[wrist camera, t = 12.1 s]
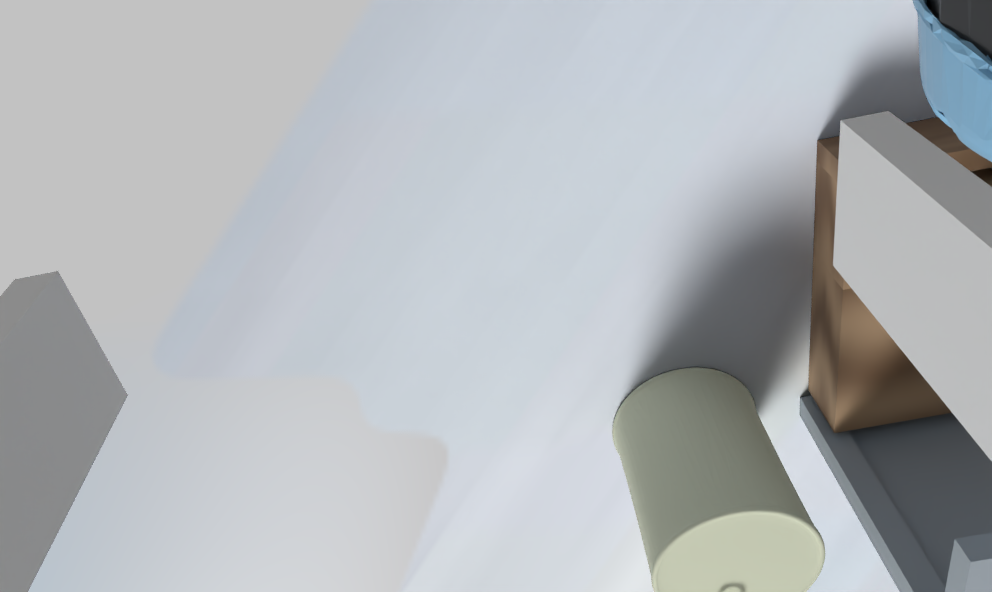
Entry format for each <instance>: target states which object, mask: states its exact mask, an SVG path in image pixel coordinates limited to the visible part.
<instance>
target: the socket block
mask: <svg viewBox="0 0 992 592" xmlns="http://www.w3.org/2000/svg"><path fill="white" fill-rule="evenodd" d="M906 124H907V125H908V126H910V127H911V128H912V129H914V130H915V131H917V132H918V133H919V134H921V135H922V136H923V137H925V138H926V139H927V140H929V141H930V142H931V143H933V144H934V145H935V146H937V147H938V148H940V149H941V150H942V151H944V152H945V153H946V154H948V155H949V156H950V157H952V158H953V159H954V160H956V161H957V162H959V163H960V164H961V165H963V166H964V167H965V168H967V169H968V170H969V171H975V170H980V169H986V168H991V167H992V162H991V161H989V160H987V159H985V158H984V157H982V156H980V155H979V154H977V153H976V152H974V151H973V150H971V149H970V148H968V147H967V146H966V145H965V144H963V143H962V142H961V141H960V140H959V138H958V137H957V135H956V133H954V132H953V129H952V128H950V127H949V126H948V125H946V124H945V123H944V122H943V121H942V120H941V119H940V118H939V117H936V118H931V119H926V120H921V121H915V122H910V123H906ZM839 140H840V136H837V137H832V138H827V139H822V140H817V166H816V193H815V221H814V248H813V276H812V303H811V331H810V358H809V386H808V390H809V392H810V394H811V395H812V397H813V399H814V400H815V402H816V404H817V405H818V407H819V409H820V410H821V412H822V413H823V415H824V417H825V418H826V420H827V422H828V423H829V425H830V427H831V428H832V430H833V432H834V433H838V432H844V431H849V430H855V429H861V428H867V427H872V426H878V425H884V424H890V423H895V422H901V421H907V420H913V419H918V418H924V417H930V416H936V415H941V414H947V413H952V412H951V411H950V409H949V408H948V407H947V406H946V405H945V403H944V402H943V401H942V400H941V398H940V397H939V396H938V395H937V393H936V392H935V391H934V390H933V388H932V387H931V386H930V385H929V384H928V382H927V381H926V380H925V379H924V377H923V376H922V375H921V374H920V372H919V371H918V370H917V369H916V367H915V366H914V365H913V364H912V363H911V361H910V360H909V359H908V358H907V356H906V355H905V354H904V353H903V351H902V350H901V349H900V348H899V346H898V345H897V344H896V343H895V342H894V340H893V339H892V338H891V337H890V335H889V334H888V333H887V332H886V330H885V329H884V328H883V327H882V325H881V324H880V323H879V322H878V320H877V319H876V318H875V317H874V316H873V314H872V313H871V312H870V311H869V309H868V308H867V307H866V306H865V304H864V303H863V302H862V301H861V299H860V298H859V297H858V296H857V295H856V293H855V292H854V291H853V290H852V288H851V287H850V286H849V285H848V283H847V282H846V281H845V280H844V278H843V277H842V276H841V275H840V274H839V272H838V271H837V270H836V269H835V267H834V266H833V255H834V236H835V216H836V197H837V178H838V159H839Z"/></svg>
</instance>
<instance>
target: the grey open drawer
mask: <svg viewBox="0 0 992 592" xmlns="http://www.w3.org/2000/svg"><path fill="white" fill-rule="evenodd" d="M800 416H801V418H802V420H803V422H804V423H805V425H806V427H807V429H808V431H809V432H810V434H811V436H812V438H813V439H814V441H815V443H816V445H817V446H818V448H819V450H820V452H821V453H822V455H823V457H824V459H825V461H826V462H827V464H828V466H829V468H830V469H831V471H832V473H833V475H834V476H835V478H836V480H837V482H838V484H839V485H840V487H841V489H842V491H843V492H844V494H845V496H846V498H847V499H848V501H849V503H850V505H851V506H852V508H853V510H854V512H855V514H856V515H857V517H858V519H859V521H860V522H861V524H862V526H863V528H864V529H865V531H866V533H867V535H868V537H869V538H870V540H871V542H872V544H873V545H874V547H875V549H876V551H877V552H878V554H879V556H880V558H881V559H882V561H883V563H884V565H885V567H886V568H887V570H888V572H889V574H890V575H891V577H892V579H893V581H894V582H895V584H896V586H897V588H898V590H899V591H900V592H992V461H991V460H990V459H989V458H988V456H987V455H986V454H985V453H984V451H983V450H982V449H981V448H980V447H979V445H978V444H977V443H976V442H975V440H974V439H973V438H972V437H971V435H970V434H969V433H968V432H967V430H966V429H965V428H964V427H963V426H962V424H961V423H960V422H959V421H958V419H957V418H956V417H955V416H954V414H953V413H947V414H941V415H936V416H930V417H924V418H918V419H913V420H907V421H901V422H895V423H890V424H884V425H878V426H872V427H867V428H861V429H855V430H849V431H844V432H838V433H834V432H833V430H832V428H831V427H830V425H829V423H828V422H827V420H826V418H825V417H824V415H823V413H822V412H821V410H820V409H819V407H818V405H817V404H816V402H815V400H814V399H813V397H812V395H811V396H805V397H800Z"/></svg>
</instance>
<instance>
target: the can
mask: <svg viewBox="0 0 992 592" xmlns="http://www.w3.org/2000/svg"><path fill="white" fill-rule="evenodd" d="M612 433H613V441H614V445H615V448H616V450H617V452H618V454H619V455H620V458H621V461H622V465H623V468H624V472H625V475H626V479H627V483H628V486H629V490H630V494H631V498H632V501H633V505H634V509H635V513H636V516H637V520H638V524H639V528H640V532H641V536H642V540H643V544H644V548H645V552H646V556H647V560H648V564H649V569H650V573H651V580H652V586H653V590H654V592H806V591H807V590H808V589H809V588H810V587H811V586H812V584H813V583H814V582H815V581H816V579H817V577H818V576H819V574H820V572H821V570H822V567H823V564H824V559H825V547H824V542H823V539H822V537H821V535H820V533H819V532H818V530H817V529H816V527H815V526H814V524H813V523H812V521H811V519H810V517H809V515H808V513H807V511H806V510H805V508H804V506H803V504H802V502H801V500H800V498H799V496H798V494H797V492H796V490H795V488H794V486H793V484H792V483H791V481H790V479H789V477H788V475H787V473H786V471H785V469H784V467H783V465H782V463H781V461H780V459H779V457H778V455H777V453H776V451H775V449H774V447H773V445H772V443H771V440H770V438H769V436H768V434H767V432H766V430H765V428H764V426H763V424H762V422H761V420H760V418H759V416H758V414H757V411H756V407H755V403H754V400H753V398H752V396H751V394H750V392H749V391H748V389H747V388H746V387H745V386H744V385H743V384H742V383H741V382H740V381H739V380H737V379H736V378H734V377H732V376H731V375H729V374H727V373H724V372H721V371H718V370H714V369H709V368H698V367H695V368H683V369H677V370H673V371H669V372H666V373H663V374H660V375H658V376H656V377H653V378H651V379H650V380H648V381H646V382H644V383H643V384H641V385H640V386H639V387H637V388H636V389H635V390H634V391H633V392H631V394H630V395H629V396H628V397H627V398H626V399H625V400H624V402H623V403H622V404H621V406H620V408H619V409H618V411H617V413H616V416H615V419H614V423H613V431H612Z"/></svg>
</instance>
